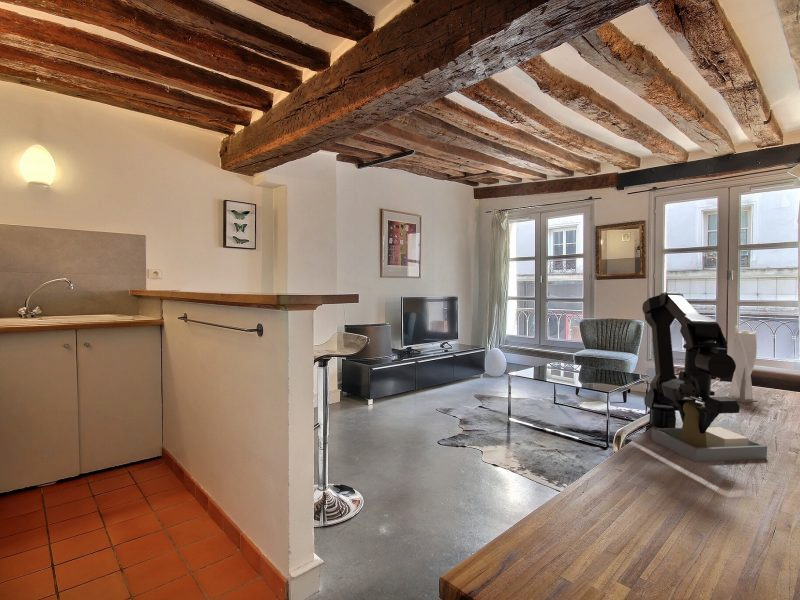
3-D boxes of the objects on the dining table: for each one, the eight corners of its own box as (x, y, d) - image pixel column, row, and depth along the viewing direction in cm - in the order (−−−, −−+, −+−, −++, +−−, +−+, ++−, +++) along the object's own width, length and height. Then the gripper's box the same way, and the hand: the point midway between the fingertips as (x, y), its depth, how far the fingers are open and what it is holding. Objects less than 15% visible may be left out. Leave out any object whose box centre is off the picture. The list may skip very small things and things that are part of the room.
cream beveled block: (696, 442, 114) (697, 427, 113) (718, 441, 115) (719, 426, 115) (723, 454, 106) (724, 439, 106) (747, 453, 107) (748, 438, 107)
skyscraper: (720, 396, 168) (726, 325, 166) (737, 395, 170) (742, 325, 168) (742, 402, 159) (748, 327, 158) (759, 401, 161) (765, 327, 160)
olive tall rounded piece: (704, 443, 110) (707, 401, 110) (709, 452, 105) (712, 407, 104) (676, 439, 113) (679, 398, 112) (680, 447, 107) (683, 404, 107)
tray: (650, 443, 115) (651, 428, 115) (714, 440, 118) (715, 426, 118) (695, 466, 101) (696, 449, 101) (766, 462, 104) (767, 446, 104)
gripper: (642, 361, 116) (639, 418, 117) (702, 378, 97) (697, 445, 98) (678, 361, 118) (674, 417, 118) (743, 378, 99) (738, 443, 100)
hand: (693, 429), depth 109 cm, fingers closed on olive tall rounded piece, 4 cm apart
